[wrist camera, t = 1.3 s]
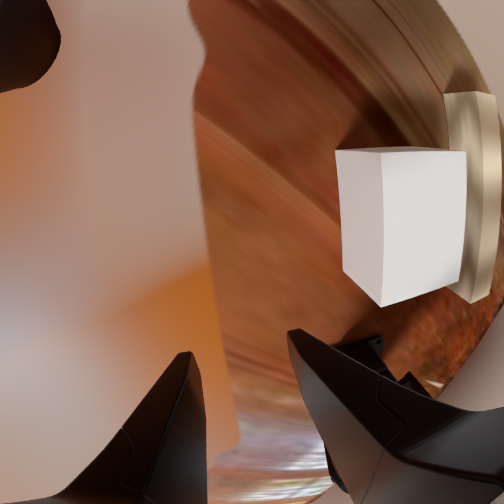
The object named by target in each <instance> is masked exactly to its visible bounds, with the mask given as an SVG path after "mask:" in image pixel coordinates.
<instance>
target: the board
mask: <svg viewBox="0 0 504 504" xmlns="http://www.w3.org/2000/svg"><path fill="white" fill-rule="evenodd" d="M443 97H444V103H445V110H446V117H447V125H448V135H449V146H450V150H458V151H466V169H467V195H466V219H465V232H464V243H463V252H462V260H461V267H460V274H459V280H458V282H455V283H452V284H450V285H447V286H446V287H448V288H449V289H450V290H452V291H453V292H455V293H456V294H458V295H459V296H460V297H462V298H463V299H465V300H466V301H467V302H469V303H470V304H471V303H473V302H475V301H477V300H479V299H481V298H483V297H485V296H487V295H489V291H490V287H491V282H492V277H493V271H494V265H495V259H496V252H497V244H498V236H499V226H500V213H501V192H502V163H501V143H500V130H499V120H498V112H497V105H496V99H495V96H494V95H490V94H486V93H482V92H478V91H470V92H458V93H449V94H443Z"/></svg>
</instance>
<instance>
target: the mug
mask: <svg viewBox="0 0 504 504" xmlns="http://www.w3.org/2000/svg"><path fill="white" fill-rule="evenodd" d="M60 43H61V35H60V30H59V29H58V27H57V25H56V22H55V19H54V16H53V14H52V11H51V9H50V7H49V5H48V3H47V1H46V0H0V93H2V92H6V91H10V90H13V89H17V88H24V87H27V86H29V85H32V84H33V83H35V82H36V81H38V80H39V79H40V78H41V77H42V76H43V75H44V74H45V73H46V72H47V71H48V69H49V68H50V67H51V65H52V64H53V62H54V60H55V59H56V56H57V54H58V51H59V48H60Z"/></svg>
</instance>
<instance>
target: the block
mask: <svg viewBox="0 0 504 504" xmlns="http://www.w3.org/2000/svg"><path fill="white" fill-rule="evenodd" d="M335 154H336V164H337V174H338V185H339V198H340V212H341V230H342V254H343V271H344V272H345V273H346V274H347V275H348V276H349V277H350V278H351V279H352V280H353V281H354V282H355V283H356V284H357V285H358V286H359V287H360V288H361V289H363V290H364V291H365V292H366V293H367V294H368V295H369V296H370V297H371V298H372V299H373V300H374V301H375V302H376V303H377V304H378V305H379V306H380V307H384V306H388V305H391V304H394V303H397V302H400V301H403V300H406V299H410V298H413V297H416V296H419V295H421V294H424V293H427V292H430V291H433V290H436V289H439V288H441V287H444V286H447V285H450V284H452V283H455V282H458V280H459V274H460V267H461V260H462V252H463V243H464V232H465V219H466V195H467V169H466V151H458V150H449V149H440V148H428V147H415V146H404V147H376V148H358V149H343V150H335Z"/></svg>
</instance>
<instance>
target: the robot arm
mask: <svg viewBox="0 0 504 504" xmlns="http://www.w3.org/2000/svg"><path fill="white" fill-rule="evenodd" d="M287 342H288V350H289V356H290V360H291V363H292V366H293V369H294V373H295V376H296V379H297V382H298V385H299V389H300V392H301V395H302V397H303V400H304V402H305V405H306V407H307V409H308V411H309V413H310V415H311V417H312V419H313V421H314V423H315V425H316V428H317V430H318V432H319V434H320V436H321V438H322V440H323V442H324V448H325V453H326V459H327V465H328V470H329V474H330V476H331V480H332V482H333V483H336V484H337V485H338V486H339V487H340V488H341V489H342V490H343V491H344V492H346V493H348V494H349V495H350V497H351V498H352V501H353V503H354V504H504V407H501V408H497V409H492V410H487V411H468V410H463V409H460V408H457V407H454V406H451V405H448V404H445V403H443V402H440V401H437V400H435V399H433V398H432V397H431V396H430V394H429V393H428V392H427V391H426V390H425V389H424V387H423V386H422V385H421V384H420V383H419V382H418V380H417V379H416V378H415V377H414V376H413V375H412V373H411V372H410V371H409V372H407V373H406V374H405V375H404V377H403V378H402V379H401V380H399V381H397V380H396V379H395V377H394V376H393V375H392V373H391V372H390V371H389V369H388V367H387V365H386V364H385V363H384V362H383V360H382V359H381V356H382V348H383V338H382V337H381V335H376V336H373V337H370V338H367V339H364V340H361V341H358V342H355V343H352V344H349V345H346V346H343V347H339V348H336V349H334V348H333V347H331V346H329V345H328V344H326V343H324V342H322V341H321V340H319V339H317V338H316V337H314V336H312V335H311V334H309V333H307V332H305V331H304V330H302V329H300V328H298V329H294V330H290V331H288V332H287ZM4 504H208V501H207V461H206V415H205V406H204V398H203V390H202V381H201V375H200V371H199V368H198V366H197V363H196V360H195V357H194V355H193V353H192V352H191V351H188V352H181V353H178V354H177V355H176V357H175V358H174V360H173V361H172V362H171V363H170V365H169V366H168V367H167V369H166V370H165V371H164V372H163V374H162V375H161V376H160V378H159V379H158V380H157V382H156V383H155V384H154V385H153V387H152V388H151V390H150V391H149V392H148V393H147V395H146V396H145V397H144V398H143V400H142V401H141V402H140V404H139V405H138V406H137V408H136V409H135V410H134V411H133V413H132V414H131V415H130V417H129V418H128V420H127V421H126V422H125V423H124V424H123V426H122V428H121V429H120V430H119V431H118V432H117V433H116V435H115V436H114V437H113V438H112V440H111V441H110V442H109V443H108V444H107V446H106V447H105V448H104V449H103V450H102V451H101V453H100V454H99V455H98V456H97V457H96V458H95V459H94V460H93V461H92V462H91V463H90V464H89V465H88V466H87V467H86V468H85V469H84V470H83V471H82V472H81V473H80V474H79V475H78V476H77V477H76V478H75V479H74V480H73V481H72V482H71V483H70V484H69V485H68V486H67V487H66V488H65V489H64V490H62V491H61V492H59V493H57V494H55V495H53V496H50V497H46V498H41V499H35V500H29V501H22V502H14V503H4Z"/></svg>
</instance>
